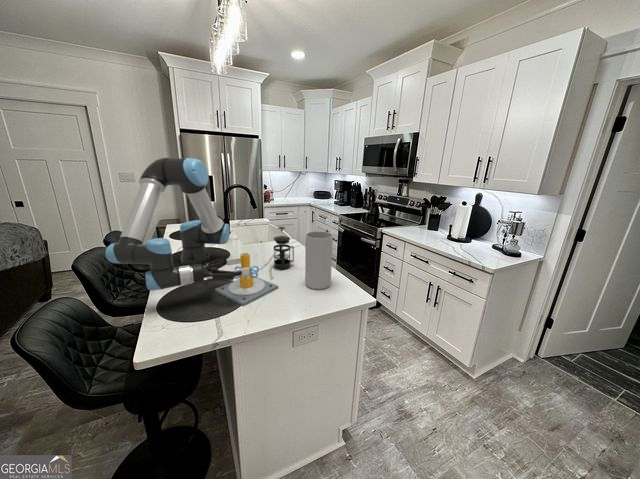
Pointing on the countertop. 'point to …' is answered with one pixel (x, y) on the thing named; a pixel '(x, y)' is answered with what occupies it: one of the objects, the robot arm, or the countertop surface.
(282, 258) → the french press
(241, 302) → the grey plate with disc
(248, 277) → the orange ringed tube
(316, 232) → the cylinder vase
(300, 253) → the countertop surface
